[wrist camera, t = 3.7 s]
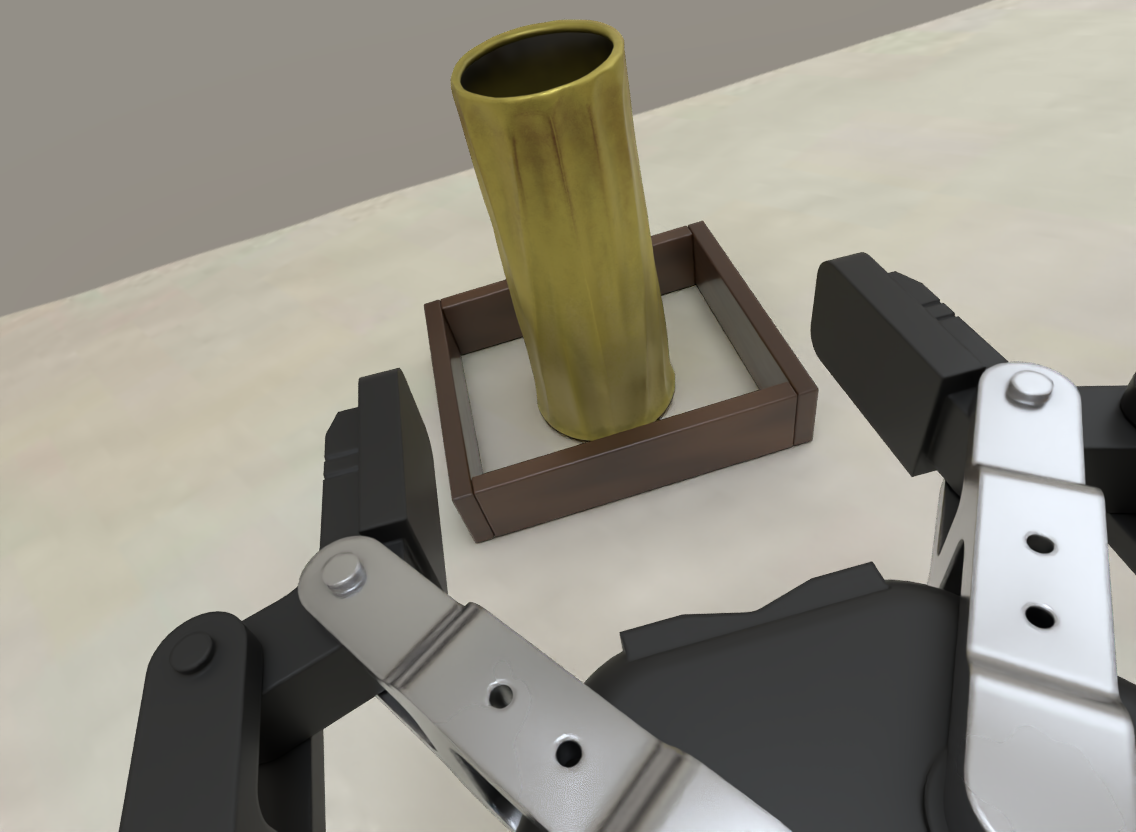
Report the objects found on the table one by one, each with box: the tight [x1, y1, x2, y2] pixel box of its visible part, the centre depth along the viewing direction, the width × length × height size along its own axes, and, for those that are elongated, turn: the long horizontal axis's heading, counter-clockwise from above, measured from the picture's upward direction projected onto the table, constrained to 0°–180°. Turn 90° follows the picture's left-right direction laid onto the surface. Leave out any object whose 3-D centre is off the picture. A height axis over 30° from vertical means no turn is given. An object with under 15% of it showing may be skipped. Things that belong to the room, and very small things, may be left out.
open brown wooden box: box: [424, 221, 818, 543], centre depth 30 cm, size 14×12×3 cm
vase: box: [451, 20, 675, 441], centre depth 25 cm, size 6×6×14 cm
